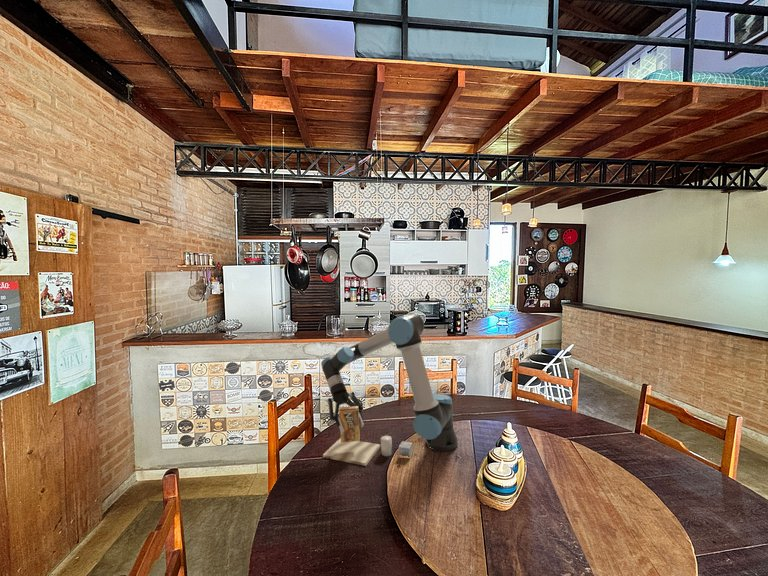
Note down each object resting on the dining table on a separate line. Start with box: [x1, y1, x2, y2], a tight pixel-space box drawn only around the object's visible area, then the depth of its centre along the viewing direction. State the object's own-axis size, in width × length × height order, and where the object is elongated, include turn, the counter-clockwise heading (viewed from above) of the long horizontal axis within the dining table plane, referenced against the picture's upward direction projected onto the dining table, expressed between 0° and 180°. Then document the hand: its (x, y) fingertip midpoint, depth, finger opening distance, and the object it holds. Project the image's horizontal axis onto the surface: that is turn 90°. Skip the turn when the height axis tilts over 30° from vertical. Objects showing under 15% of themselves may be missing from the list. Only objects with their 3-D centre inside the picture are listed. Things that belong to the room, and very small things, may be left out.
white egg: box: [380, 435, 393, 457], centre depth 149 cm, size 5×5×7 cm
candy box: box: [338, 406, 361, 442], centre depth 152 cm, size 9×4×15 cm, turn 94°
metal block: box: [398, 441, 414, 457], centre depth 147 cm, size 5×5×5 cm
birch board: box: [322, 437, 381, 467], centre depth 152 cm, size 22×16×1 cm
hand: (352, 429), depth 149 cm, fingers closed on candy box, 9 cm apart
